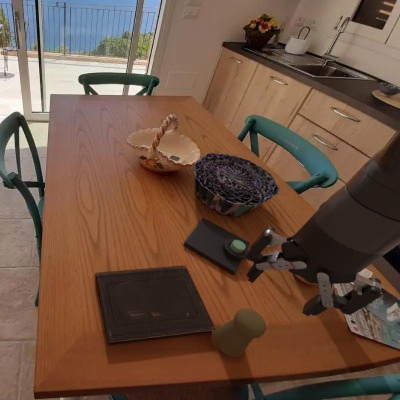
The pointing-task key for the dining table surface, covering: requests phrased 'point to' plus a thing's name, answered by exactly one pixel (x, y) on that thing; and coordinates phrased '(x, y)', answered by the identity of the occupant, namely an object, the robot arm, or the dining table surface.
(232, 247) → the tare button
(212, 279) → the dining table surface
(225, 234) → the dark grey button base
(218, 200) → the decorative bowl
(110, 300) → the hardcover book
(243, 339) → the cork
